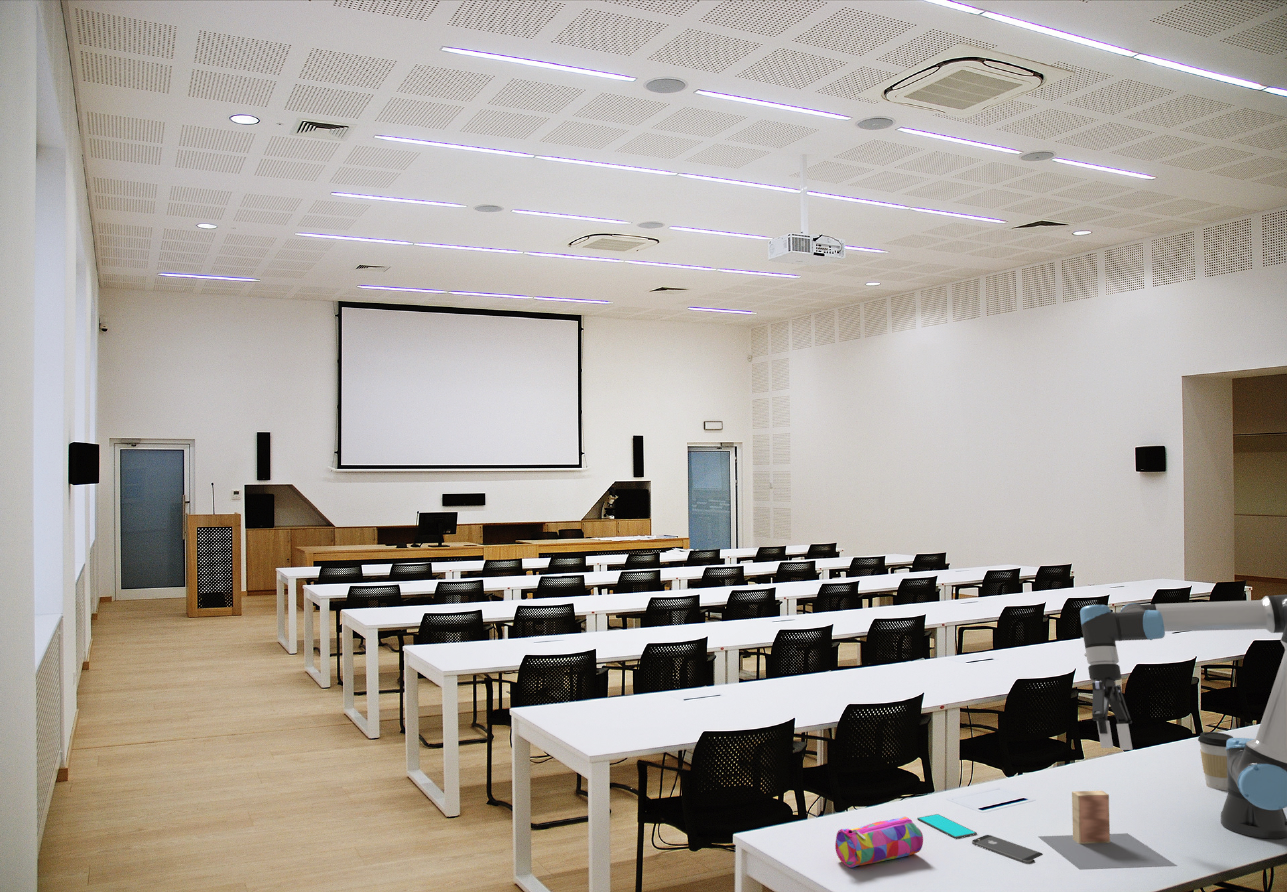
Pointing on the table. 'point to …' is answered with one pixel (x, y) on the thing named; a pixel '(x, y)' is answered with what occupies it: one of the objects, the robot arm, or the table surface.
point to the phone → (1007, 848)
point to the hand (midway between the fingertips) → (1117, 748)
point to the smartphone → (946, 826)
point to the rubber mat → (1107, 852)
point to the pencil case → (878, 842)
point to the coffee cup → (1214, 758)
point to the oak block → (1090, 817)
